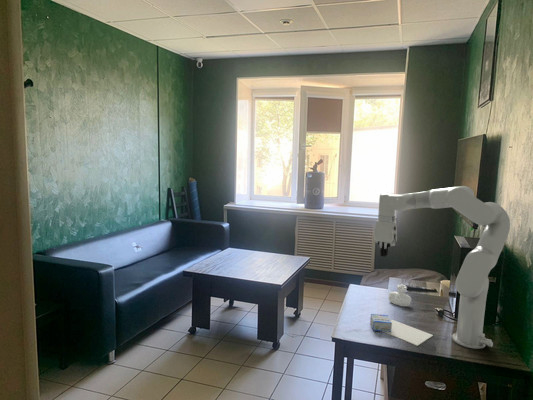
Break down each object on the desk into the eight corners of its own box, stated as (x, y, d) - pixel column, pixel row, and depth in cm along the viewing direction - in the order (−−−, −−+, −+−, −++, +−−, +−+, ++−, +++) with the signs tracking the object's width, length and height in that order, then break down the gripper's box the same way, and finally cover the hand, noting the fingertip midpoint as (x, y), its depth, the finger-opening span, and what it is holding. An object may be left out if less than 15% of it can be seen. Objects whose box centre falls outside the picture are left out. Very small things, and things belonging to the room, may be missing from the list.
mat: (432, 336, 164) (433, 335, 164) (417, 346, 155) (417, 345, 155) (392, 320, 179) (392, 319, 179) (375, 328, 170) (375, 328, 170)
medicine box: (387, 314, 174) (392, 322, 165) (387, 324, 174) (391, 332, 166) (370, 313, 175) (373, 321, 166) (369, 322, 175) (373, 331, 167)
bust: (410, 311, 196) (416, 291, 200) (407, 305, 191) (413, 285, 195) (388, 304, 204) (394, 285, 208) (384, 299, 199) (391, 280, 203)
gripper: (404, 220, 178) (402, 258, 181) (377, 215, 190) (374, 251, 192) (396, 221, 173) (393, 260, 176) (368, 217, 185) (366, 253, 187)
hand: (383, 255), depth 184 cm, fingers closed
